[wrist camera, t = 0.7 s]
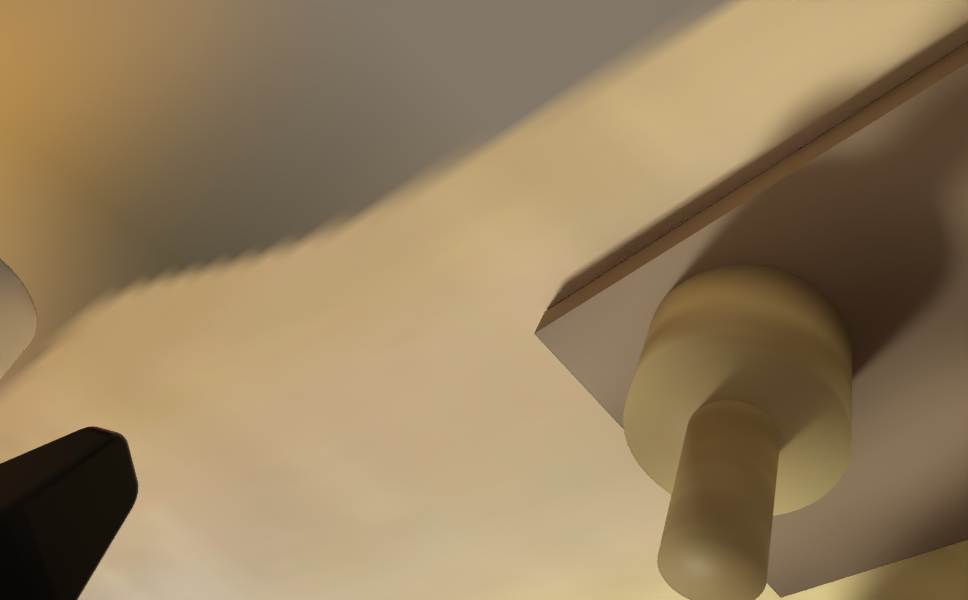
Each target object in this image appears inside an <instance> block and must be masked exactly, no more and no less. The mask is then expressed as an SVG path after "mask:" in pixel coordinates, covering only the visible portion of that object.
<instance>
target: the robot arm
mask: <svg viewBox="0 0 968 600" xmlns="http://www.w3.org/2000/svg"><path fill="white" fill-rule="evenodd" d="M137 494H138V481H137V477H136V473H135V469H134V465H133V461H132V457H131V453H130V450H129V446H128V443H127V440H126V438H125V437H124V436H123V435H122V434H120V433H117V432H114V431H110V430H107V429H103V428H100V427H86V428H83V429H80V430H78V431H76V432H73V433H71V434H69V435H66V436H64V437H62V438H59V439H57V440H55V441H52V442H50V443H48V444H45V445H43V446H41V447H38V448H36V449H34V450H31V451H29V452H27V453H24V454H22V455H20V456H17V457H15V458H13V459H10V460H8V461H6V462H3V463H1V464H0V600H78V598H79V596H80V595H81V593H82V591H83V590H84V588H85V586H86V584H87V583H88V581H89V579H90V578H91V576H92V574H93V573H94V571H95V569H96V568H97V566H98V564H99V563H100V561H101V559H102V558H103V556H104V554H105V553H106V551H107V549H108V548H109V546H110V544H111V543H112V541H113V539H114V538H115V536H116V534H117V533H118V531H119V529H120V528H121V526H122V524H123V523H124V521H125V519H126V518H127V516H128V514H129V513H130V511H131V509H132V507H133V505H134V503H135V501H136V498H137Z"/></svg>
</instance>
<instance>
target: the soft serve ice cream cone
mask: <svg viewBox="0 0 968 600" xmlns="http://www.w3.org/2000/svg"><path fill="white" fill-rule="evenodd" d="M36 329H37V315H36V309H35V306H34V304H33V301H32V299H31V297H30V295H29V293H28V291H27V289H26V288H25V286H24V285H23V283H22V282H21V280H20V279H19V278H18V276H17V275H16V274H15V273H14V272H13V271H12V270H11V268H10V267H9V266H7V265H6V264H5V263H4V262H3V261H2V260H1V259H0V379H1V378H2V376H3V375H4V374H5V373H6V371H7V370H8V369H9V368H10V366H11V365H12V364H13V363H14V362H15V360H16V359H17V358H18V357H19V355H20V354H21V353H22V352H23V350H24V349H25V348H26V347H27V346H28V344H29V343H30V342H31V341H32V339H33V337H34V335H35V332H36Z"/></svg>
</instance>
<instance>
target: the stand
mask: <svg viewBox="0 0 968 600" xmlns="http://www.w3.org/2000/svg"><path fill="white" fill-rule="evenodd" d="M534 334H535V335H536V336H537V337H538V338H539V339H540V340H541V341H542V342H543V343H544V345H545V346H546V347H547V348H548V349H549V350H550V351H551V352H552V353H553V354H554V355H555V356H556V357H557V358H558V360H559V361H560V362H561V363H562V364H563V365H564V366H565V367H566V368H567V369H568V370H569V371H570V372H571V373H572V375H573V376H574V377H575V378H576V379H577V380H578V381H579V382H580V383H581V384H582V385H583V386H584V387H585V388H586V390H587V391H588V392H589V393H590V394H591V395H592V396H593V397H594V398H595V399H596V400H597V401H598V402H599V403H600V405H601V406H602V407H603V408H604V409H605V410H606V411H607V412H608V413H609V414H610V415H611V416H612V417H613V418H614V420H615V421H616V422H617V423H618V424H619V425H620V426H621V427H622V428H623V429H624V433H625V437H626V440H627V443H628V446H629V448H630V450H631V452H632V454H633V456H634V458H635V459H636V461H637V462H638V464H639V465H640V466H641V468H642V469H643V470H644V471H645V472H646V474H647V475H648V476H649V477H650V478H651V479H652V480H654V481H655V482H656V483H657V484H658V485H659V486H661V487H662V488H663V489H665V490H666V491H667V492H669V493H671V494H672V496H671V500H670V505H669V509H668V514H667V518H666V522H665V527H664V531H663V536H662V540H661V545H660V549H659V553H658V561H657V562H658V568H659V571H660V573H661V575H662V577H663V578H664V580H665V581H666V582H667V584H668V585H669V586H670V587H671V588H672V589H674V590H675V591H676V592H678V593H679V594H681V595H682V596H684V597H686V598H688V599H690V600H755V599H756V598H757V597H759V596H760V594H761V593H762V592H763V590H764V589H765V586H766V582H767V583H768V584H769V586H770V587H771V588H772V589H773V590H774V591H775V592H776V593H777V594H778V595H779V596H780V597H784V596H788V595H791V594H794V593H797V592H800V591H804V590H807V589H810V588H813V587H817V586H820V585H823V584H826V583H830V582H833V581H836V580H839V579H842V578H846V577H849V576H852V575H855V574H859V573H862V572H865V571H868V570H871V569H875V568H878V567H881V566H884V565H888V564H891V563H894V562H897V561H900V560H904V559H907V558H910V557H913V556H917V555H920V554H923V553H926V552H929V551H933V550H936V549H939V548H942V547H946V546H949V545H952V544H955V543H958V542H962V541H965V540H968V42H967V43H965V44H964V45H962V46H960V47H959V48H957V49H956V50H954V51H953V52H951V53H949V54H948V55H946V56H945V57H943V58H942V59H940V60H939V61H937V62H935V63H934V64H932V65H931V66H929V67H928V68H926V69H924V70H923V71H921V72H920V73H918V74H917V75H915V76H913V77H912V78H910V79H909V80H907V81H906V82H904V83H902V84H901V85H899V86H898V87H896V88H895V89H893V90H891V91H890V92H888V93H887V94H885V95H884V96H882V97H881V98H879V99H877V100H876V101H874V102H873V103H871V104H870V105H868V106H866V107H865V108H863V109H862V110H860V111H859V112H857V113H855V114H854V115H852V116H851V117H849V118H848V119H846V120H844V121H843V122H841V123H840V124H838V125H837V126H835V127H834V128H832V129H830V130H829V131H827V132H826V133H824V134H823V135H821V136H819V137H818V138H816V139H815V140H813V141H812V142H810V143H808V144H807V145H805V146H804V147H802V148H801V149H799V150H797V151H796V152H794V153H793V154H791V155H790V156H788V157H787V158H785V159H783V160H782V161H780V162H779V163H777V164H776V165H774V166H772V167H771V168H769V169H768V170H766V171H765V172H763V173H761V174H760V175H758V176H757V177H755V178H754V179H752V180H750V181H749V182H747V183H746V184H744V185H743V186H741V187H739V188H738V189H736V190H735V191H733V192H732V193H730V194H729V195H727V196H725V197H724V198H722V199H721V200H719V201H718V202H716V203H714V204H713V205H711V206H710V207H708V208H707V209H705V210H703V211H702V212H700V213H699V214H697V215H696V216H694V217H692V218H691V219H689V220H688V221H686V222H685V223H683V224H682V225H680V226H678V227H677V228H675V229H674V230H672V231H671V232H669V233H667V234H666V235H664V236H663V237H661V238H660V239H658V240H656V241H655V242H653V243H652V244H650V245H649V246H647V247H645V248H644V249H642V250H641V251H639V252H638V253H636V254H635V255H633V256H631V257H630V258H628V259H627V260H625V261H624V262H622V263H620V264H619V265H617V266H616V267H614V268H613V269H611V270H609V271H608V272H606V273H605V274H603V275H602V276H600V277H598V278H597V279H595V280H594V281H592V282H591V283H589V284H587V285H586V286H584V287H583V288H581V289H580V290H578V291H577V292H575V293H573V294H572V295H570V296H569V297H567V298H566V299H564V300H562V301H561V302H559V303H558V304H556V305H555V306H553V307H551V308H550V309H548V310H547V311H545V313H544V315H543V317H542V319H541V321H540V323H539V325H538V327H537V329H536V331H535V333H534Z"/></svg>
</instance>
